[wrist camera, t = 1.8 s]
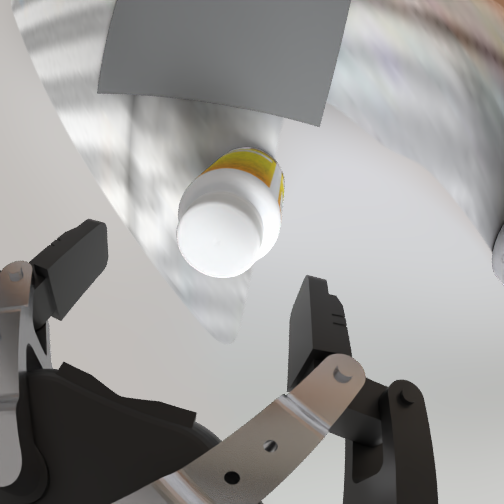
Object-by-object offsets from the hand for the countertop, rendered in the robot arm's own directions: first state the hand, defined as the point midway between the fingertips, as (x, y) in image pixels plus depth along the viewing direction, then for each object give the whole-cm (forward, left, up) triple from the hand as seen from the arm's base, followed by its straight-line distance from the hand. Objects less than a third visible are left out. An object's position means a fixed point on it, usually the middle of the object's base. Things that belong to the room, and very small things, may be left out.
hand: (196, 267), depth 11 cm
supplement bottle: (0, 0, -13) cm, 13 cm away
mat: (+5, -12, -13) cm, 18 cm away
